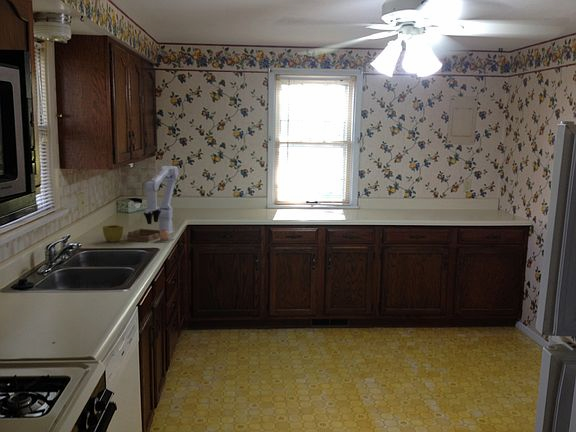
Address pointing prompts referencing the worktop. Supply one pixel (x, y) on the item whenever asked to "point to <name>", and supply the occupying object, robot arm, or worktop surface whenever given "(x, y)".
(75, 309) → the worktop surface
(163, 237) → the seedling pot
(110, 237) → the flower pot
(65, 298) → the worktop surface
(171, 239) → the rubber mat
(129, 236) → the wooden square frame
